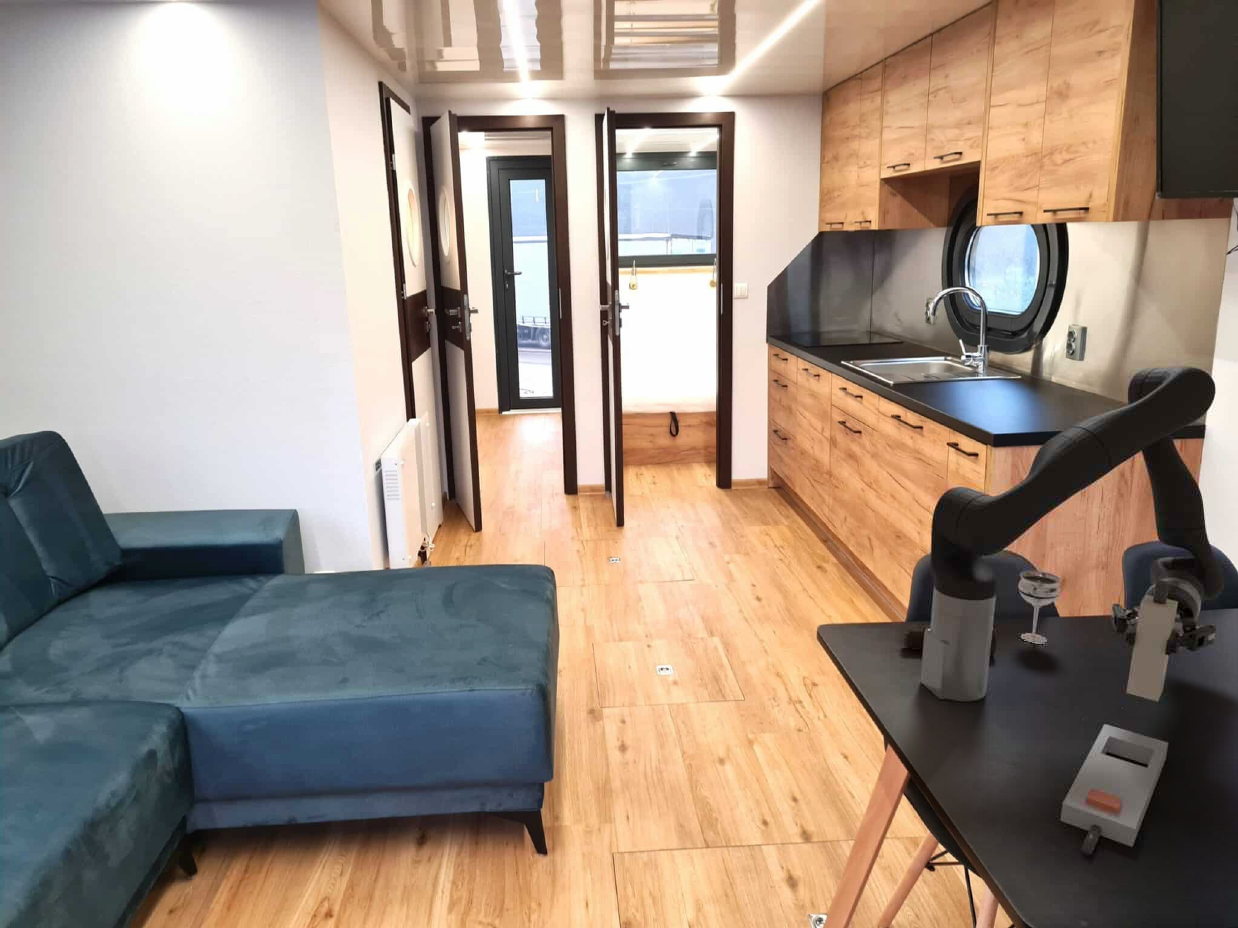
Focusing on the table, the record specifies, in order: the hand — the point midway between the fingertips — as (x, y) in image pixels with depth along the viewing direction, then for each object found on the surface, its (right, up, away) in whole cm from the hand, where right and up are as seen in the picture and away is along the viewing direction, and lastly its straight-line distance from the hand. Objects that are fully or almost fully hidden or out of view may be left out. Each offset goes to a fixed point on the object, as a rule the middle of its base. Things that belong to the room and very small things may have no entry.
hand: (1150, 644), depth 125 cm
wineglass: (+1, -7, +37) cm, 38 cm away
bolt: (-16, -8, +33) cm, 38 cm away
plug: (+2, -8, +4) cm, 9 cm away
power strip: (-10, -18, -9) cm, 23 cm away
